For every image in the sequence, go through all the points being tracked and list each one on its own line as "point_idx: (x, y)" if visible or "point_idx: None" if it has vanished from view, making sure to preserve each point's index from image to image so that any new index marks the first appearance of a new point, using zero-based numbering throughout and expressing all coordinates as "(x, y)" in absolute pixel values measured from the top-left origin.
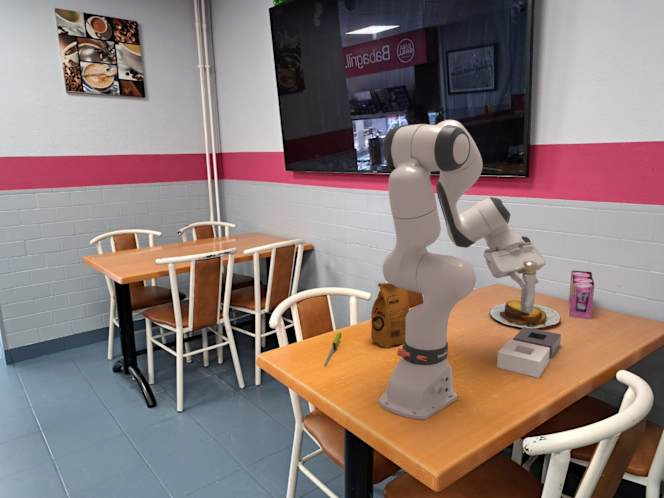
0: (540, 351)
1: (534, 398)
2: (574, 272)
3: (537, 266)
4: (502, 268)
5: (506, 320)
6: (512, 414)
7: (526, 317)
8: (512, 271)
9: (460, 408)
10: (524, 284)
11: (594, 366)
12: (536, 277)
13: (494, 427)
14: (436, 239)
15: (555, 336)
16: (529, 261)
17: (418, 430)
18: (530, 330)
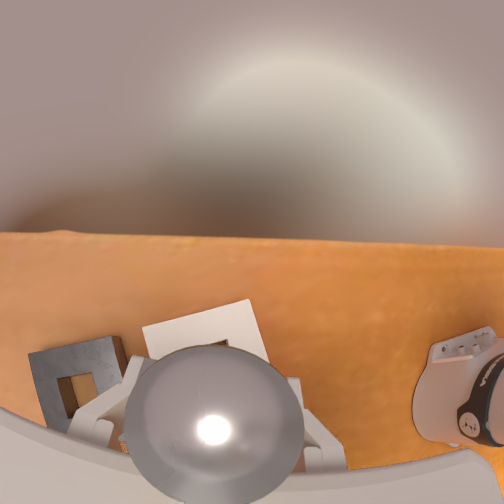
0: (184, 332)
1: (328, 264)
2: None
3: (22, 418)
4: (476, 471)
5: None
6: (397, 260)
7: None
8: (376, 468)
9: (443, 321)
10: (295, 377)
11: (94, 251)
12: (130, 376)
13: (437, 257)
14: None
15: (48, 358)
16: (174, 463)
17: (498, 312)
18: (60, 425)
